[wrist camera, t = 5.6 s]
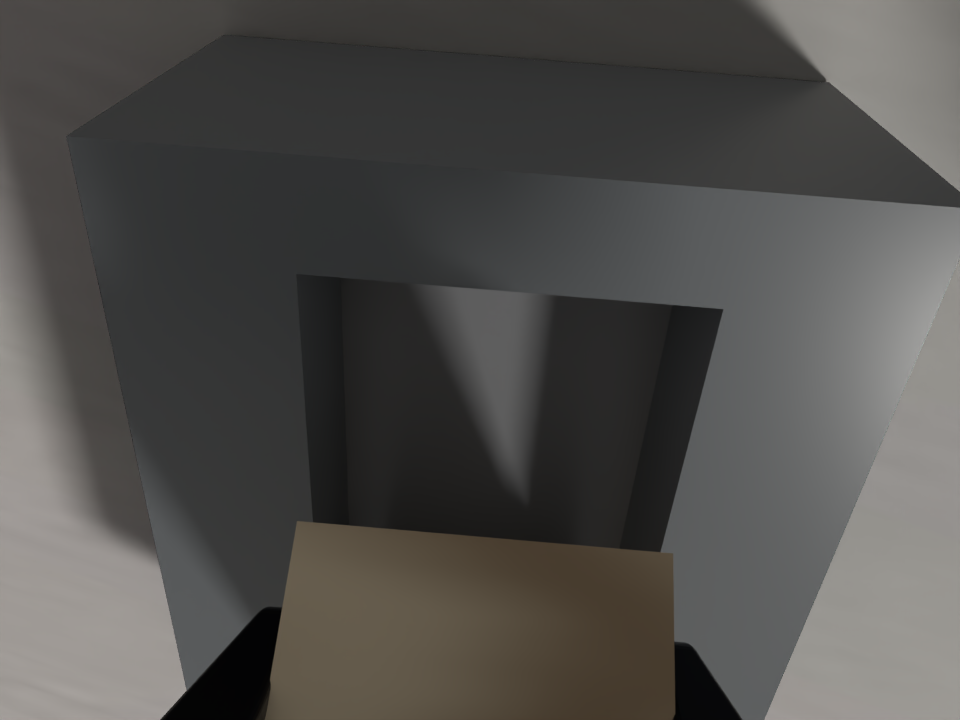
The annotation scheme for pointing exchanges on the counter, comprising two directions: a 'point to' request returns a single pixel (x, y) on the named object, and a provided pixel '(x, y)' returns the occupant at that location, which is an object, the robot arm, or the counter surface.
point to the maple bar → (471, 629)
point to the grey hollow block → (508, 318)
